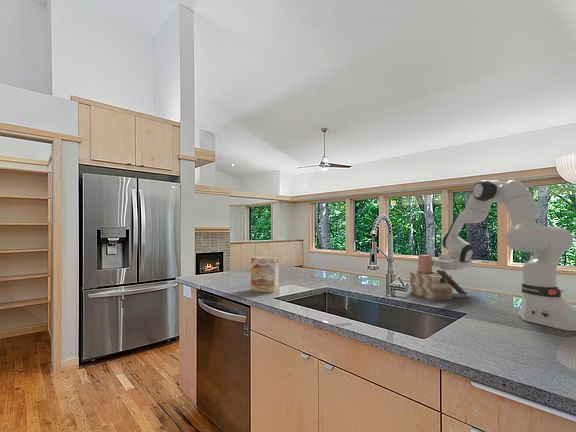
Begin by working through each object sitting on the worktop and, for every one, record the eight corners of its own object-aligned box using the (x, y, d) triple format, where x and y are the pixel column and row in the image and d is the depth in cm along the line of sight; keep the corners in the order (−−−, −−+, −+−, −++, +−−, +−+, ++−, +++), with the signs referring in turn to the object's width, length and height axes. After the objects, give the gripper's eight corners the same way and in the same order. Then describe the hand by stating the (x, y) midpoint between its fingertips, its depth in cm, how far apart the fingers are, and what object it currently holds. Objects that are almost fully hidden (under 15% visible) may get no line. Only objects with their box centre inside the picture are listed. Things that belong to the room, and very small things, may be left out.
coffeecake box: (250, 290, 181) (250, 257, 182) (255, 288, 188) (255, 256, 189) (274, 292, 177) (274, 258, 177) (278, 290, 183) (279, 257, 184)
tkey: (467, 293, 158) (444, 270, 154) (465, 295, 158) (442, 273, 154) (455, 290, 165) (432, 268, 161) (453, 292, 165) (431, 270, 161)
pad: (469, 297, 168) (469, 296, 168) (456, 298, 165) (456, 297, 165) (456, 293, 177) (456, 292, 177) (443, 294, 174) (443, 293, 174)
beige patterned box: (452, 298, 165) (452, 275, 165) (434, 300, 161) (433, 276, 162) (427, 291, 182) (427, 270, 183) (410, 292, 179) (410, 270, 179)
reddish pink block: (431, 273, 174) (431, 255, 175) (424, 273, 173) (424, 255, 173) (425, 272, 179) (425, 254, 179) (418, 272, 178) (418, 254, 178)
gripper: (432, 255, 191) (413, 255, 186) (460, 258, 171) (440, 259, 167) (432, 265, 190) (413, 266, 186) (460, 270, 171) (440, 271, 167)
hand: (426, 263), depth 176 cm, fingers open, 8 cm apart
